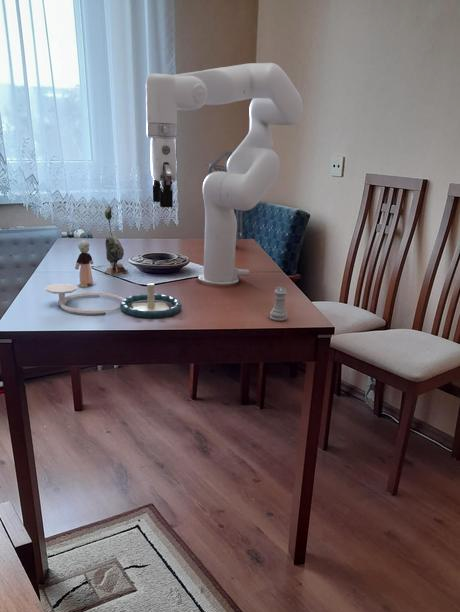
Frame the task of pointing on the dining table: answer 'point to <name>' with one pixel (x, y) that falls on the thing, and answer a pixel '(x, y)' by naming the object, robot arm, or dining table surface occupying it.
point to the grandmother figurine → (84, 264)
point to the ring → (150, 313)
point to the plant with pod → (114, 251)
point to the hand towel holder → (70, 288)
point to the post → (150, 301)
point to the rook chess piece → (279, 305)
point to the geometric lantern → (226, 171)
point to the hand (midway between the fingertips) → (162, 204)
